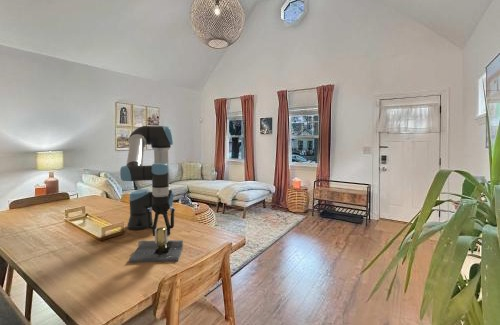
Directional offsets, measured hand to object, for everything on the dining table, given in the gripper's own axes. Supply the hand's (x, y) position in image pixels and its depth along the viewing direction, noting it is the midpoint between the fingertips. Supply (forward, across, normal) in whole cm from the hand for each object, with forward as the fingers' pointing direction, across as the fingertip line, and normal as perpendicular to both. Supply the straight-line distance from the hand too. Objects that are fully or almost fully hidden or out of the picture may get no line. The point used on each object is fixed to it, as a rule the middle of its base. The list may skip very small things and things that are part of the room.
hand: (161, 241), depth 126 cm
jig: (+7, -2, 0) cm, 7 cm away
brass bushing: (+3, 0, 0) cm, 3 cm away
